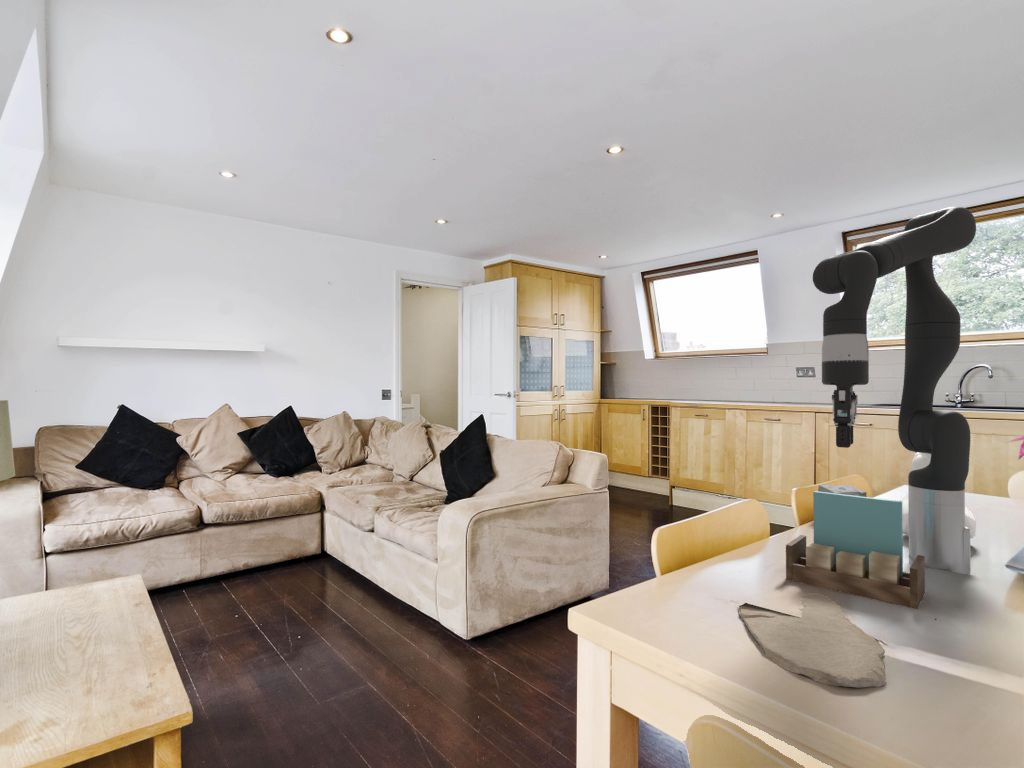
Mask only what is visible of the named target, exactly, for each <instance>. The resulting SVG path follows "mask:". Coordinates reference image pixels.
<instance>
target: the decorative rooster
mask: <svg viewBox="0 0 1024 768" xmlns="http://www.w3.org/2000/svg"><path fill="white" fill-rule="evenodd" d="M930 459H931V454H928V453H920V452H915V453H914V455H913V459H912V461H911V463H910V470H909V473H910V472H911V471H913V470H917V469H922V468H925V467H926V466H928V465H929V463H930ZM899 501H902V529H903V534H904V535H905V536H908V537H909V498H908V490H907V492H905V494H904V495H903V496H902V497H901V498H900V499H899ZM976 526H977V521H976V519H975V516H974V514H973V513H972V512H971V511H970V509H968V508H967V506H966V505H965V527H967V528H969V529H970V539H973V538H974V537H975V536H976V533H977V527H976Z"/></svg>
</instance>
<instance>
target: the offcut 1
mask: <svg viewBox="0 0 1024 768" xmlns="http://www.w3.org/2000/svg"><path fill="white" fill-rule="evenodd" d="M806 566H809V567H814V568H819V569H824V570H828V571H833V572H834V547H831V546H825V545H820V544H814V542H810V543H808V544H806Z"/></svg>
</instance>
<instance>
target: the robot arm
mask: <svg viewBox="0 0 1024 768" xmlns="http://www.w3.org/2000/svg"><path fill="white" fill-rule="evenodd" d="M976 232H977V222H976V219H975V216H974V214H973V213H972V212H971V211H970V210H969V209H967V208H966V207H962V206H949V207H946V208H941V209H938V210H935V211H931V212H927V213H923V214H920V215H916V216H914V217H912V218H910V219H909V220H908V221H907V223H906V224H905V225H904V230H903V231H901V232H899V233H898V232H897V233H895V234H892V235H888V236H884V237H882V238H879V239H877V240H874V241H870V242H869V243H866V244H864V245H862V246H860V247H858V248H856V249H853V250H850V251H847V252H842V253H840V254H836V255H833V256H831V257H827V258H825V259H823V260H821V261H820V262H819V263H818V264H817V265H816V266H815V268H814V270H813V273H812V283H813V285H814V287H815V289H816V290H818V291H819V292H821V293H823V294H825V295H836V294H840V293H843V295H842V297H841V299H840V300H839V301H838V302H836V303H833V304H832V305H829V306H828V307H826V308H825V309H824V311H823V315H822V333H823V334H822V336H823V337H822V344H821V383H822V384H823V385H824V386H836V389H834V390H833V394H832V395H831V403H832V416H833V418H832V421H833V424H834V426H835V445H836V447H837V448H844V449H845V448H846V449H847V448H850V447H851V445H853V444H854V425H855V423H856V416H857V413H858V409H857V407H858V406H857V405H858V401H859V397H858V396H859V395H857V394H856V392H855V390H854V389H853V388H854V386H866V385H868V384H869V381H870V380H869V379H870V377H869V376H870V375H869V370H870V369H869V367H870V365H869V361H870V360H869V359H870V358H869V357H870V356H869V353H870V352H869V350H870V349H869V343H868V342H869V341H868V335H867V333H868V331H867V330H868V321H867V320H868V318H867V317H868V316H867V314H868V310H869V307H870V303H871V300H872V297H873V293H874V291H875V287H876V285H877V280H878V279H879V278H883V277H885V276H886V275H889V274H891V273H893V272H896V271H898V270H901V269H903V268H904V270H905V271H904V272H905V284H906V285H905V287H906V288H905V290H906V292H905V293H906V294H905V295H906V298H905V299H906V302H905V303H906V304H905V305H906V309H905V323H904V324H905V325H904V326H905V327H904V331H905V332H904V373H903V386H902V393H901V401H900V409H899V413H898V421H897V423H898V424H897V425H898V426H897V431H898V438H899V440H900V443H901V445H902V446H903V447H904V448H905V449H906V450H908V451H909V452H913V453H914V452H915V453H918V452H920V453H928V454H931V459H930V463H929V465H928V466H926V467H925V468H922V469H917V470H913V471H911V472H910V471H909V472H908V475H907V476H908V480H907V481H908V485H907V487H908V490H907V491H908V498H909V536H908V565H912V564H913V562H914V560H915V559H916V557H917V555H921V556H925V568H929V569H934V570H935V569H936V570H939V571H941V570H942V571H946V572H951V573H952V572H953V573H957V574H963V575H968V576H971V573H972V572H971V568H972V567H971V566H972V565H971V538H970V529H969V528H967V527H965V506H966V498H965V497H966V495H965V494H966V493H965V491H966V490H965V489H966V481H967V478H968V475H969V470H970V454H971V453H970V451H971V438H972V437H971V427H970V425H969V421H968V420H967V418H966V416H964V414H962V413H960V412H958V411H954V410H944V409H943V410H939V409H936V410H935V409H933V408H934V407H933V405H934V397H935V396H934V395H935V390H936V387H937V385H938V383H939V381H940V379H941V377H942V376H943V374H944V373H945V372H946V370H948V368H949V366H950V365H951V363H952V362H953V360H954V359H955V358H956V356H957V354H958V351H959V350H960V349H959V348H960V345H961V324H962V323H961V314H960V312H959V310H958V308H957V306H956V305H955V304H954V303H953V301H952V300H951V299H950V298H949V297H948V295H947V294H946V292H945V291H943V290H942V288H941V287H940V285H939V284H938V282H937V280H936V278H935V273H934V266H933V259H934V257H936V256H940V255H946V254H951V253H954V252H955V253H956V252H957V251H960V250H963V249H965V248H966V247H968V246H969V245H970V244H971V243H972V242H973V241H974V239H975V237H976Z"/></svg>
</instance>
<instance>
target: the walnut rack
mask: <svg viewBox="0 0 1024 768" xmlns="http://www.w3.org/2000/svg"><path fill="white" fill-rule="evenodd" d="M806 546H807V536H806V535H803V534H800V535H799V536H797V537H796V538H794V539H792V540H791V541H789V542H788V543H786V544H785V580H786V581H789V582H793V583H798V584H802V585H803V584H804V585H807V586H812V587H816V588H820V589H825V590H830V591H834V592H838V593H843V594H846V595H852V596H855V597H860V598H863V599H864V598H865V599H869V600H873V601H877V602H881V603H886V604H891V605H894V606H900V607H904V608H907V609H911V610H912V609H913V610H919V607H920V606H921V604H922V601H923V599H924V597H925V595H926V567H925V556H921V555H917V557H916V559H915V560H914V562H913V564H910V565H911V566H910V567H909V572H906V571H903V577H900V585H896V584H891V583H887V582H882V581H877V580H872V579H869V570H866V578H862V577H857V576H853V575H848V574H843V573H838V572H836V564H834V572H833V571H828V570H824V569H819V568H814V567H809V566H806Z"/></svg>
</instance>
